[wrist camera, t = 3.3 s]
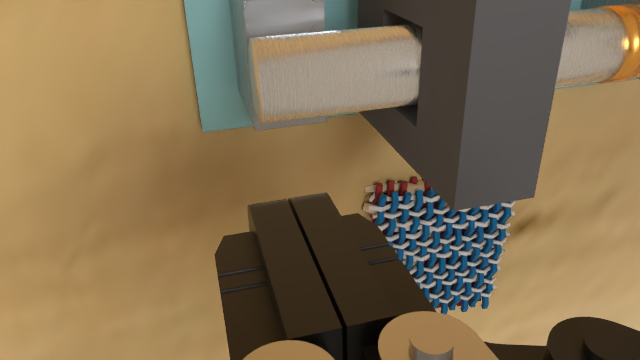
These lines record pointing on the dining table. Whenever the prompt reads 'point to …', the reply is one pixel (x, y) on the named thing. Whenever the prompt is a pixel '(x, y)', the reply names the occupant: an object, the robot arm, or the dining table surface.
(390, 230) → the woven mat
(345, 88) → the pipe
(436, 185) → the tall grey rectangular prism
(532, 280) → the dining table surface
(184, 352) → the dining table surface
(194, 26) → the base board
